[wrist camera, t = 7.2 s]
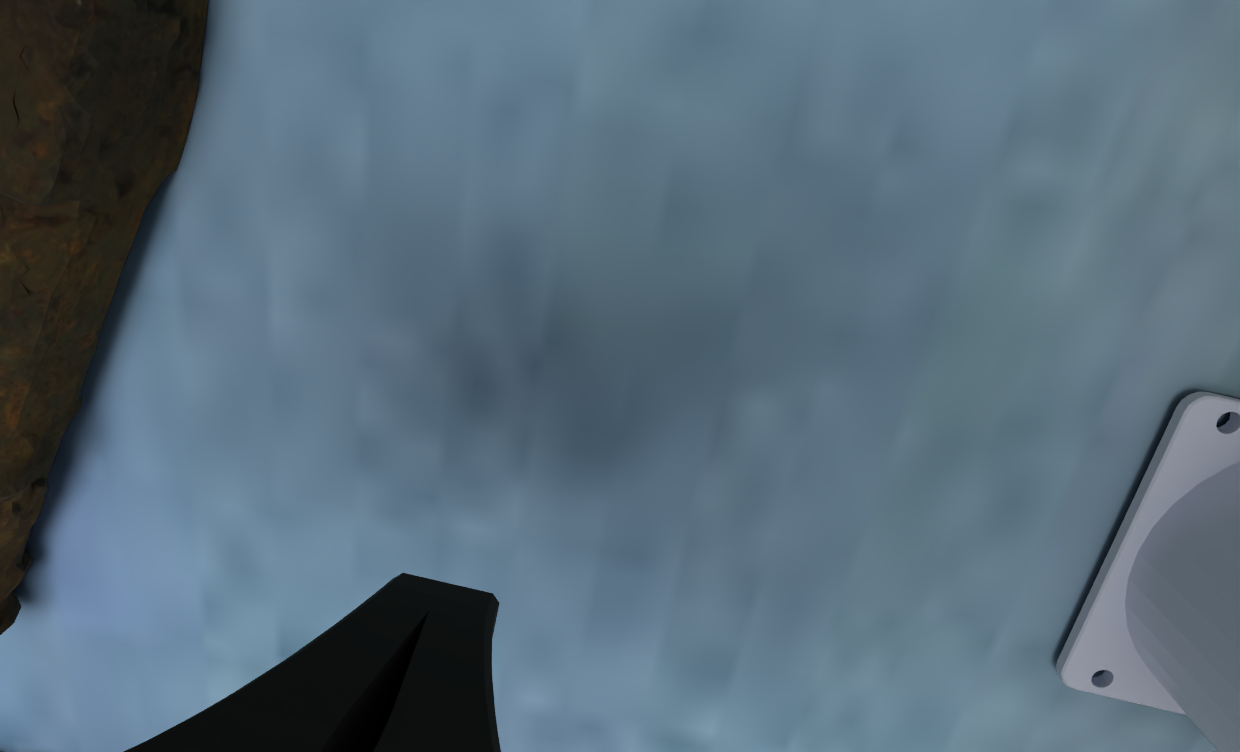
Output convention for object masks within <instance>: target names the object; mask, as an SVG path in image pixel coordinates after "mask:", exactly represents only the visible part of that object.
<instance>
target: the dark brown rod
mask: <svg viewBox="0 0 1240 752" xmlns="http://www.w3.org/2000/svg"><path fill="white" fill-rule="evenodd" d="M207 1H208V0H0V635H1V634H2V633H3V632H4V631H6V630H7V629H8V628H9V627H10V626H11V625H12V624H13V623H14V622H15V619H16V617H17V615H18V613H19V611H20V609H21V605H20V603H19V600H18V598H17V597H16V595H15V594H14V593H13V592H12V591H13V590H14V589H15V588H16V586H17V585H18V584H19V583H20V582H21V580H22V578H23V576H24V575H25V574H26V572H27V571H28V569H29V567H30V566H31V564H32V562H33V560H34V559H33V557H32V556H31V555H30V554H29V553H28V552H27V551H25V550H24V549H25V546H26V544H27V541H28V538H29V534H30V530H31V527H32V526H33V524H34V523H35V521H36V519H37V517H38V515H39V513H40V512H41V509H42V506H43V502H44V498H45V495H46V492H47V491H48V475H49V473H50V470H51V467H52V465H53V462H54V459H55V457H56V454H57V452H58V449H59V446H60V443H61V440H62V437H63V434H64V432H65V430H66V428H67V426H68V424H69V423H70V422H71V420H72V419H73V418H74V417H75V415H76V414H77V412H78V410H79V408H80V406H81V404H82V401H81V396H80V392H81V389H82V386H83V382H84V379H85V376H86V373H87V370H88V367H89V365H90V362H91V360H92V358H93V355H94V353H95V351H96V348H97V343H98V337H99V334H100V331H101V328H102V325H103V323H104V320H105V317H106V314H107V311H108V309H109V306H110V304H111V301H112V298H113V296H114V293H115V290H116V287H117V284H118V280H119V277H120V274H121V272H122V270H123V267H124V265H125V262H126V260H127V257H128V255H129V252H130V249H131V247H132V244H133V241H134V239H135V236H136V233H137V230H138V227H139V224H140V221H141V218H142V215H143V212H144V210H145V209H146V207H147V205H148V204H149V202H150V201H151V199H152V198H153V196H154V194H155V193H156V191H157V189H158V188H159V186H160V185H161V183H162V182H163V180H164V179H165V178H166V177H167V176H169V175H170V174H172V173H173V172H174V171H176V170H177V168H178V165H179V162H180V159H181V156H182V153H183V150H184V146H185V143H186V139H187V135H188V132H189V128H190V124H191V119H192V114H193V110H194V105H195V101H196V96H197V90H198V82H199V74H200V66H201V58H202V50H203V42H204V33H205V24H206V16H207Z"/></svg>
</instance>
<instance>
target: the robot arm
mask: <svg viewBox="0 0 1240 752" xmlns="http://www.w3.org/2000/svg"><path fill="white" fill-rule="evenodd" d="M1227 412H1230V413H1231V414H1230V419H1229V420H1228V422H1227V423H1226V424H1225V425H1223V426H1221V427H1216V424H1217V420H1218V419H1219V417H1220V416H1221V415H1223V414H1225V413H1227ZM498 607H499V602H498V600H497V599H496V597H495V596H494V594H493V593H488V592H484V591H480V590H475V589H471V588H467V587H462V586H458V585H453V584H449V583H445V582H440V581H436V580H432V579H427V578H423V577H419V576H414V575H410V574H406V573H402V574H400V575H399V576H397V577H395V578H393V579H392V580H391V581H390V582H389V583H387V584H386V585H385V586H384V587H382V588H381V589H380V590H379V591H377V592H376V593H375V594H374V595H372V596H371V597H370V598H369V599H367V600H366V601H365V602H364V603H362V604H361V605H360V606H359V607H357V608H356V609H355V610H353V611H352V612H351V613H349V614H348V615H347V616H345V617H344V618H343V619H342V620H340V621H339V622H338V623H336V624H335V625H334V626H332V627H331V628H329V629H328V630H327V631H325V632H324V633H322V634H321V635H320V636H318V637H317V638H315V639H314V640H313V641H311V642H310V643H308V644H307V645H306V646H304V647H303V648H301V649H300V650H299V651H297V652H296V653H294V654H293V655H292V656H290V657H289V658H287V659H286V660H284V661H283V662H281V663H280V664H278V665H276V666H275V667H273V668H272V669H270V670H269V671H267V672H265V673H264V674H262V675H261V676H259V677H258V678H256V679H255V680H253V681H251V682H250V683H248V684H247V685H245V686H244V687H242V688H240V689H239V690H237V691H236V692H234V693H233V694H231V695H229V696H228V697H226V698H224V699H222V700H221V701H219V702H217V703H216V704H214V705H212V706H210V707H209V708H207V709H205V710H203V711H202V712H200V713H198V714H196V715H195V716H193V717H191V718H189V719H187V720H185V721H184V722H182V723H180V724H178V725H176V726H174V727H172V728H170V729H168V730H167V731H165V732H163V733H161V734H159V735H157V736H155V737H153V738H151V739H149V740H147V741H145V742H143V743H141V744H139V745H137V746H135V747H133V748H131V749H128V750H126V751H124V752H501V750H500V743H499V737H498V731H497V723H496V716H495V706H494V694H493V682H492V636H493V632H494V627H495V622H496V617H497V612H498ZM1056 670H1057V673H1058V675H1059V676H1060V678H1061V679H1062V681H1063V682H1064V683H1065V684H1066V685H1067V686H1068V687H1070V688H1073V689H1076V690H1080V691H1084V692H1089V693H1093V694H1097V695H1102V696H1106V697H1110V698H1115V699H1119V700H1123V701H1128V702H1132V703H1136V704H1141V705H1145V706H1150V707H1154V708H1158V709H1163V710H1167V711H1171V712H1176V713H1180V714H1184V715H1187V716H1188V717H1189V718H1190V719H1191V720H1192V722H1193V723H1194V724H1195V725H1196V726H1197V728H1198V729H1199V730H1200V731H1201V732H1202V733H1203V735H1204V736H1205V737H1206V738H1207V739H1208V741H1209V742H1210V743H1211V744H1212V745H1213V747H1214V748H1215V749H1216V750H1217V751H1218V752H1240V399H1236V398H1231V397H1227V396H1223V395H1218V394H1214V393H1210V392H1195V393H1192V394H1189V395H1188V396H1186V397H1185V398H1184V399H1182V400H1181V401H1180V403H1179V404H1178V406H1177V407H1176V409H1175V411H1174V413H1173V415H1172V418H1171V420H1170V422H1169V424H1168V426H1167V428H1166V430H1165V432H1164V435H1163V437H1162V439H1161V441H1160V443H1159V445H1158V447H1157V450H1156V452H1155V454H1154V456H1153V458H1152V460H1151V462H1150V464H1149V467H1148V469H1147V471H1146V473H1145V475H1144V477H1143V479H1142V481H1141V484H1140V486H1139V488H1138V490H1137V492H1136V494H1135V496H1134V499H1133V501H1132V503H1131V505H1130V507H1129V509H1128V511H1127V513H1126V516H1125V518H1124V520H1123V522H1122V524H1121V526H1120V528H1119V530H1118V533H1117V535H1116V537H1115V539H1114V541H1113V543H1112V545H1111V547H1110V550H1109V552H1108V554H1107V556H1106V558H1105V560H1104V562H1103V565H1102V567H1101V569H1100V571H1099V573H1098V575H1097V577H1096V579H1095V582H1094V584H1093V586H1092V588H1091V590H1090V592H1089V594H1088V596H1087V599H1086V601H1085V603H1084V605H1083V607H1082V609H1081V611H1080V614H1079V616H1078V618H1077V620H1076V622H1075V624H1074V626H1073V628H1072V631H1071V633H1070V635H1069V637H1068V639H1067V641H1066V643H1065V645H1064V648H1063V650H1062V652H1061V654H1060V656H1059V658H1058V660H1057V664H1056ZM1100 670H1105V672H1104V673H1103V674H1102V675H1100V676H1098V677H1092V676H1093V675H1094V673H1095V672H1097V671H1100Z"/></svg>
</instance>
